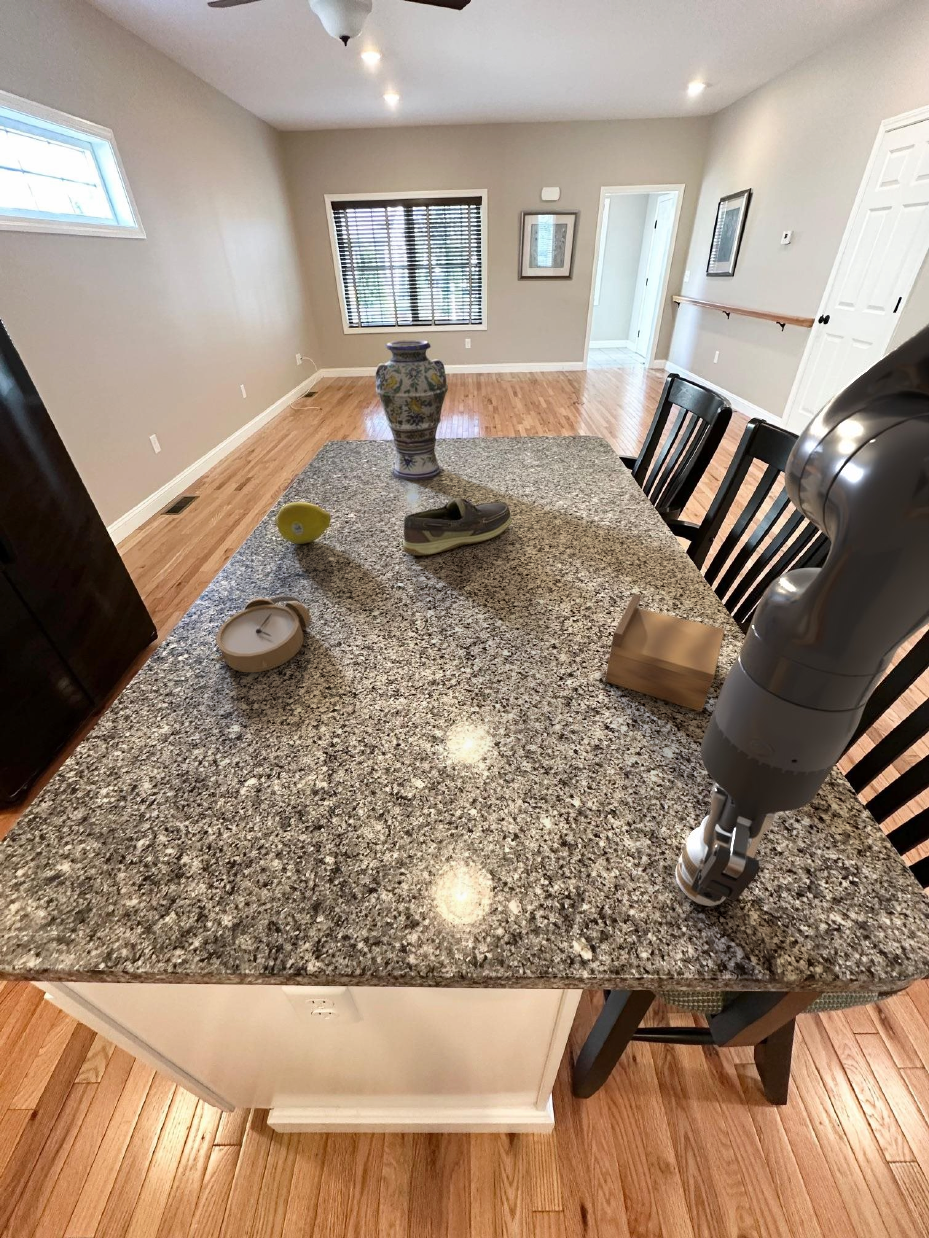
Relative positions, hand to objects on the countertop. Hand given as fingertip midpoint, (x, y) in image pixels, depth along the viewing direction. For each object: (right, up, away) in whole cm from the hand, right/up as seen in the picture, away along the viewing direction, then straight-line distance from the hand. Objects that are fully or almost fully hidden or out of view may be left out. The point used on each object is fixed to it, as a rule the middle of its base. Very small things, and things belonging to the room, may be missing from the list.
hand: (710, 860), depth 44 cm
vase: (-33, +59, +91) cm, 113 cm away
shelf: (+5, +13, +25) cm, 29 cm away
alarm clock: (-50, +17, +32) cm, 62 cm away
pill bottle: (0, -3, +2) cm, 4 cm away
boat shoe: (-22, +36, +59) cm, 72 cm away
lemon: (-52, +36, +59) cm, 86 cm away
